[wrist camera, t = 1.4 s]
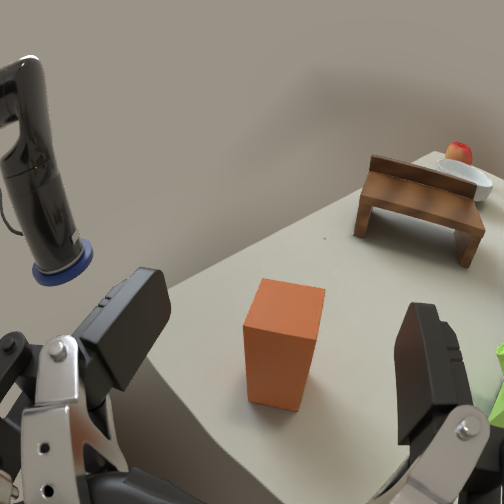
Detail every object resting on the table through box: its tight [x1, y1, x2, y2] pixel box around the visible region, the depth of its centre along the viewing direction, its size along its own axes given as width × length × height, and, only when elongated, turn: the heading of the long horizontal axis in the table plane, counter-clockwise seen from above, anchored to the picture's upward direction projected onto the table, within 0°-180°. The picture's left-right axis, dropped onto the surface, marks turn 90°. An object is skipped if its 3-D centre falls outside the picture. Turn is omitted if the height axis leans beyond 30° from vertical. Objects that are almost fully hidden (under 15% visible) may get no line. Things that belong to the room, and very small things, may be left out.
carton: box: [243, 278, 325, 412], centre depth 25 cm, size 5×5×12 cm
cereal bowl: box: [436, 159, 493, 201], centre depth 63 cm, size 17×17×7 cm
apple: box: [445, 142, 472, 166], centre depth 76 cm, size 10×10×10 cm
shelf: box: [354, 154, 485, 268], centre depth 47 cm, size 22×14×11 cm, turn 63°
